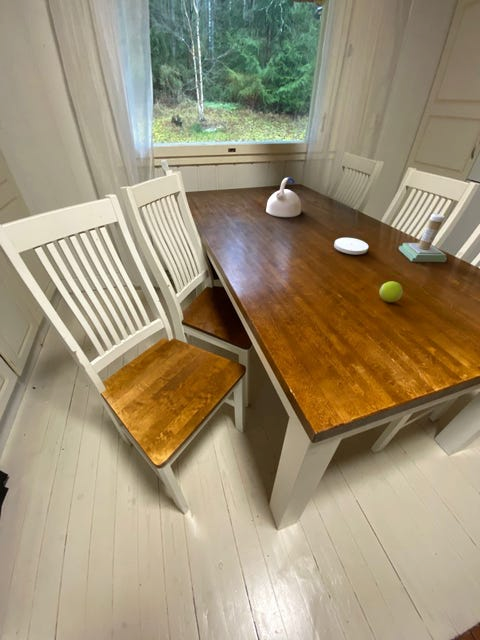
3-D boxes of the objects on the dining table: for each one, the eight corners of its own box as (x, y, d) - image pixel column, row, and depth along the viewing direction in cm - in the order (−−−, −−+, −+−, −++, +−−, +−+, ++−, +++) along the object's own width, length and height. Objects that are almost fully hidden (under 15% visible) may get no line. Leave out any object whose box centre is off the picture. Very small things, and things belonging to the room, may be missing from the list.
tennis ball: (378, 292, 93) (385, 275, 89) (399, 298, 91) (407, 281, 86) (374, 302, 89) (381, 284, 84) (397, 308, 86) (405, 290, 82)
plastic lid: (373, 252, 118) (375, 246, 116) (351, 259, 112) (353, 253, 111) (348, 240, 127) (350, 235, 126) (326, 246, 122) (328, 241, 120)
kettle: (259, 213, 156) (261, 178, 145) (275, 204, 170) (278, 172, 159) (292, 220, 148) (297, 183, 137) (306, 210, 162) (311, 176, 151)
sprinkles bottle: (425, 245, 116) (440, 213, 108) (431, 250, 113) (448, 217, 104) (415, 245, 116) (429, 213, 107) (421, 250, 112) (436, 217, 104)
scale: (429, 249, 121) (432, 243, 119) (445, 262, 112) (449, 255, 110) (398, 249, 121) (400, 242, 119) (411, 261, 112) (414, 254, 110)
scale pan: (427, 246, 119) (429, 243, 118) (439, 256, 112) (441, 252, 111) (407, 246, 119) (408, 243, 118) (417, 256, 112) (419, 252, 111)
